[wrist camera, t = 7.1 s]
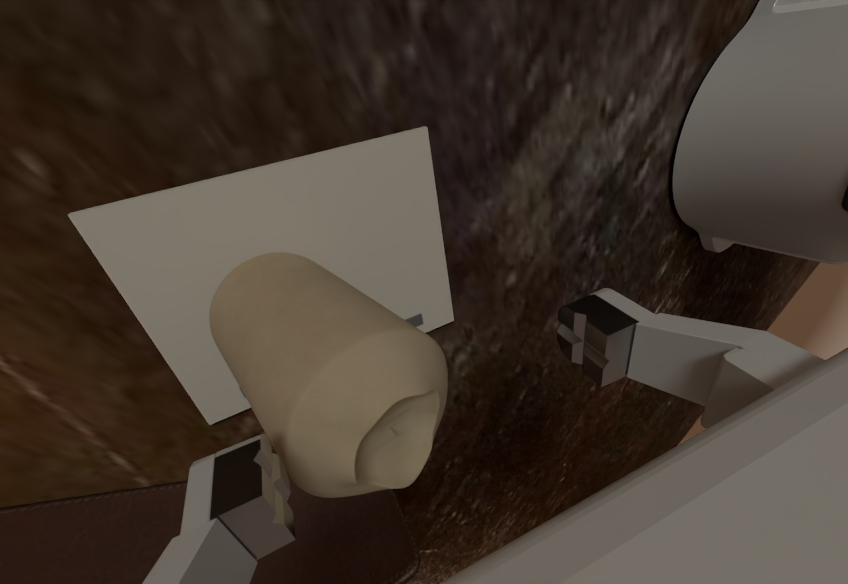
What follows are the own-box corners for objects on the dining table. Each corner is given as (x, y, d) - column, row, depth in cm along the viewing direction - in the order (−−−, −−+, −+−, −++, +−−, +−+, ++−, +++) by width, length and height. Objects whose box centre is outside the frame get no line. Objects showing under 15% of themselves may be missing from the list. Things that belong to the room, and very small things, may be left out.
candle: (337, 340, 20) (475, 465, 13) (223, 383, 17) (324, 578, 10) (325, 239, 18) (486, 323, 11) (191, 266, 14) (291, 412, 7)
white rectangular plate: (424, 126, 18) (428, 127, 17) (451, 318, 23) (454, 321, 23) (70, 213, 13) (66, 216, 13) (209, 421, 19) (209, 426, 19)
